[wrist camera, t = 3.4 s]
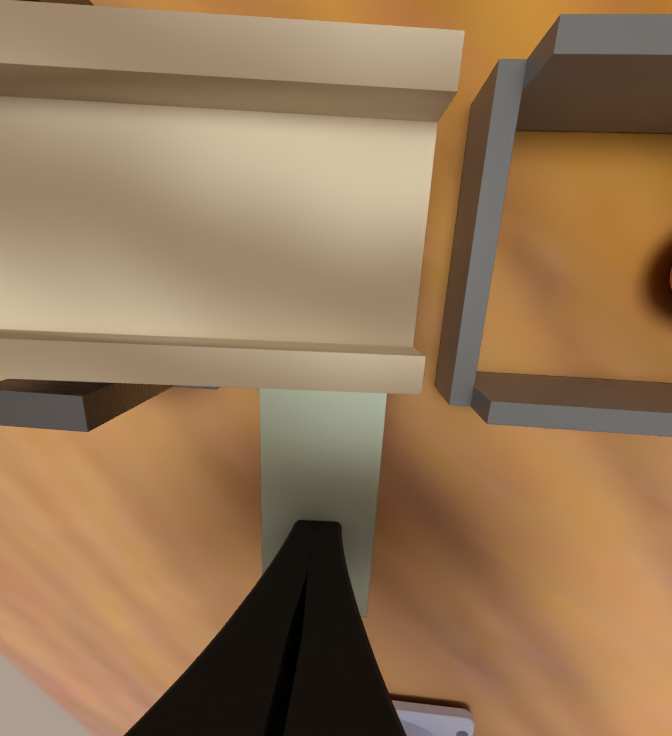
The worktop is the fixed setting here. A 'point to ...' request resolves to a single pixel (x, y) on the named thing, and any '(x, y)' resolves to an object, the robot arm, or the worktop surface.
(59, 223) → the lever
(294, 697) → the robot arm
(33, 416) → the pivot stand
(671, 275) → the ball
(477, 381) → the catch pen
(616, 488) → the worktop surface
